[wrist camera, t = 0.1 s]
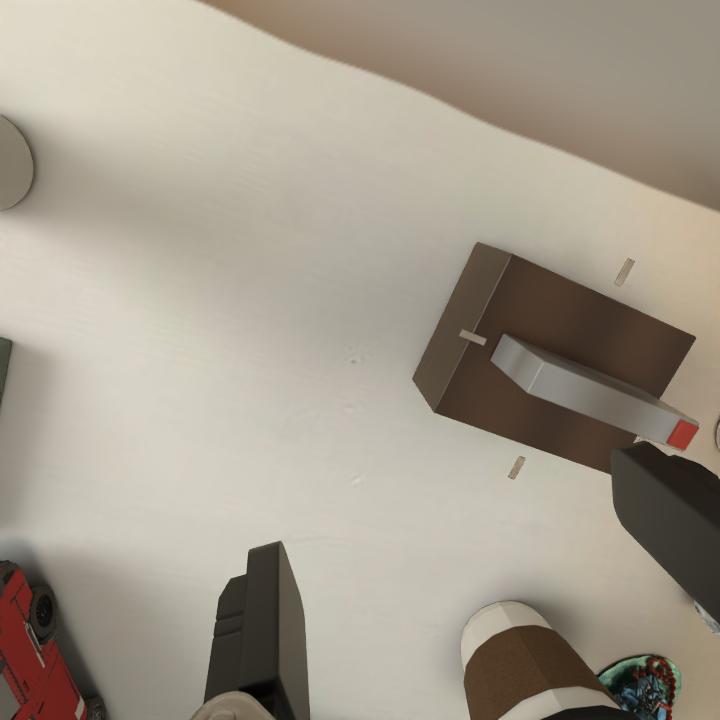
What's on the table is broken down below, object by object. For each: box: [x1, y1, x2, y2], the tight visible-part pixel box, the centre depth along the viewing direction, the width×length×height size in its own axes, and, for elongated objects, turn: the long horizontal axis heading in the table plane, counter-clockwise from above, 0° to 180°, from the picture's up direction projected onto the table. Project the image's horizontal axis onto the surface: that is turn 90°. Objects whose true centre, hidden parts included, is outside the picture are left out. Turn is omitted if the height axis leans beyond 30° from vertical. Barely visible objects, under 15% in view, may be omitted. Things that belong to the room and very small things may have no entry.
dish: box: [598, 655, 681, 720], centre depth 45 cm, size 8×7×8 cm
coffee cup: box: [460, 601, 641, 720], centre depth 35 cm, size 11×11×12 cm
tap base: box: [412, 242, 696, 479], centre depth 31 cm, size 13×13×5 cm
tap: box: [491, 334, 699, 451], centre depth 27 cm, size 9×2×5 cm, turn 67°
